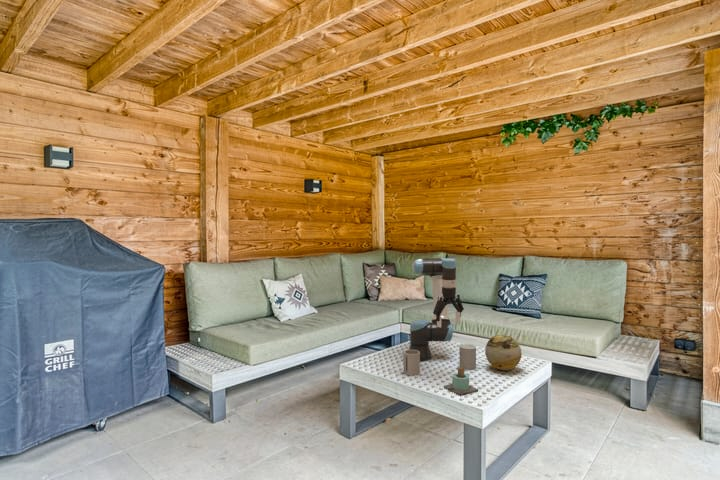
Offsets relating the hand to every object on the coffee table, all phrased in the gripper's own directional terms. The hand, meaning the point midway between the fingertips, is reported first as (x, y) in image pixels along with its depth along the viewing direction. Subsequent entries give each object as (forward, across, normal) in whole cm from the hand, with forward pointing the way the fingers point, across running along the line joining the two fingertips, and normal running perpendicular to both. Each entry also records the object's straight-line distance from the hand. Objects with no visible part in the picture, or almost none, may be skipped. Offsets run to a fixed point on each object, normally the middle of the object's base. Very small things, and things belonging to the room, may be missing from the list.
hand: (448, 325), depth 228 cm
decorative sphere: (+29, +34, -8) cm, 46 cm away
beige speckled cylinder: (+29, +19, +5) cm, 35 cm away
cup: (+29, -15, +14) cm, 35 cm away
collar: (+27, -8, -18) cm, 33 cm away
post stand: (+28, -8, -18) cm, 34 cm away
